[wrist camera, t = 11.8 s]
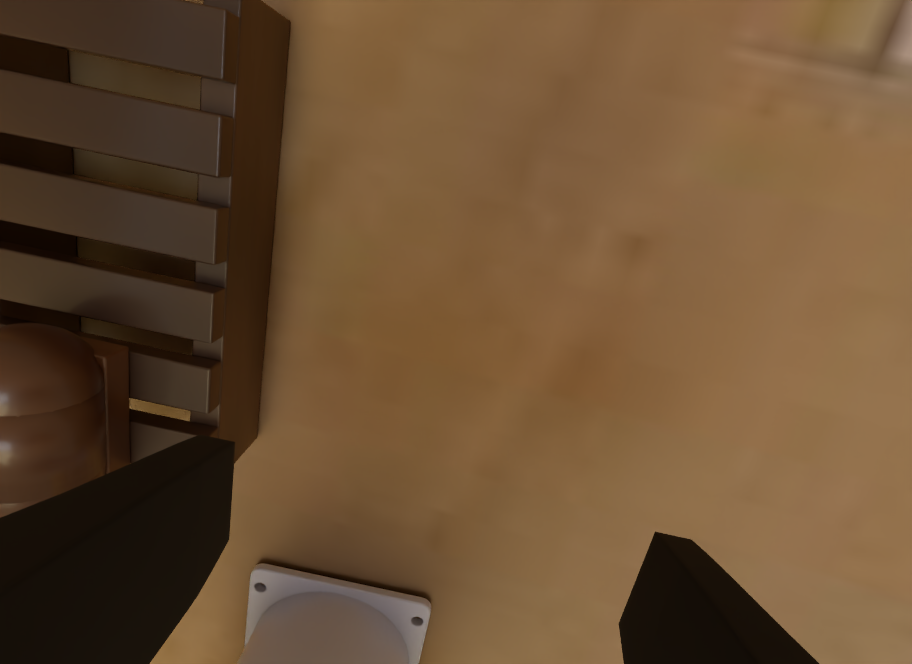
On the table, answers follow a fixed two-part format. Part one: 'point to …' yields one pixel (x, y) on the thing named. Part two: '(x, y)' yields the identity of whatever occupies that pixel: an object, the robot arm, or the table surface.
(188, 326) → the rack
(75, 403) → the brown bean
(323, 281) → the table surface
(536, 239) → the table surface
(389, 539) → the table surface
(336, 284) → the table surface
